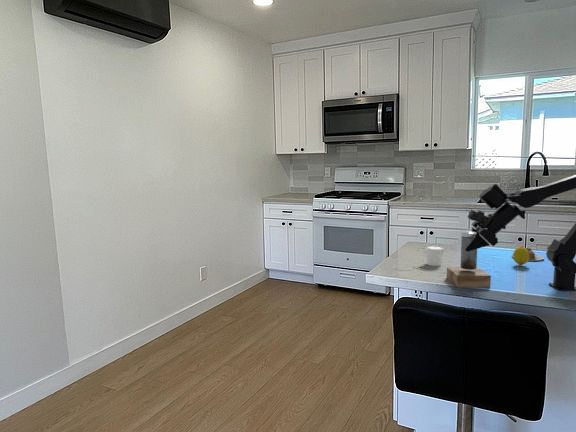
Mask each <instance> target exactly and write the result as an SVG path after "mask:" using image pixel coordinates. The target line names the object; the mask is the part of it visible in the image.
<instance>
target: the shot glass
mask: <svg viewBox="0 0 576 432" xmlns="http://www.w3.org/2000/svg"><path fill="white" fill-rule="evenodd" d="M425 249H426V264H427V265H428V266H433V267H440V266H442V262H443V255H444V247H442V246H436V245H435V246H434V245H429V246H428V245H427V246H426V248H425Z"/></svg>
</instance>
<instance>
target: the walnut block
mask: <svg viewBox="0 0 576 432" xmlns="http://www.w3.org/2000/svg"><path fill="white" fill-rule="evenodd" d="M446 279H447V280H448V281H450V283H452V284H453V285H454V286H455V287H457V288H491V282H492V281H491V279H492V276H491V274H489V273H488V272H486V271H485V270H484V269H481V267H480V268H479V266H477V268H476V269H474V270H468V269H462V268H461V266H455V267H454V266H452V267H446Z"/></svg>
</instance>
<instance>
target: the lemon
mask: <svg viewBox="0 0 576 432" xmlns="http://www.w3.org/2000/svg"><path fill="white" fill-rule="evenodd" d="M526 248H527V247H524V246H522V245H521V246H519V247H516V248H515V250H514V251H513V254H512V255H513V256H512V257H513V260H514V263H516V264H518V265H519V266H520V267H522V266H523V265H526V263H528V262H529V261H528V260H529V252H528V250H527V249H526Z"/></svg>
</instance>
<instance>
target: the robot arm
mask: <svg viewBox="0 0 576 432" xmlns="http://www.w3.org/2000/svg"><path fill="white" fill-rule="evenodd" d="M575 189H576V174H574V175H571V176H568V177H565V178H562V179H559V180H556V181H553V182H550V183H547V184H544V185H542V186H533V187H527V188H525V187H524V188H520V189H518V190H515V192H513V193H505V192H504V191H503V190H502V189H501V187H500V186H499V185H498V184H497V183H493V184H492V185H491V186H489V187H488V188H486V189H484V190H483V191H482V192H480V195H479V196H478V198H479V199H480V200H481V201H483V203H484V204H486V206H487V207H489V208H490V209H491V210H492V209H494V210H495V209H496V210H495V211H494V212H493V213H488V215H486V214H485V212H484V211H481V210H480V209H479V210H475V209H472V208H471V209H470V211H469V213H468V215H467V218H468V219H469V220H471V221H473V222H472V223H471V232H475V238H474V239H473V240H472V242H471V243H470V244H469V245H468V246H467V247H466V249H465V250H466V251H467V252H468V251H472V250H475V249H477V250H478V249H481V248H485V247H490V246H492V247H494V246H495V245H497V244H499V243H498V242H499V239H498V237H497V234H498V233H499V232H501V231H502V230H506V229H507V226H508V224H509V223H512V222H513V220H515V218H518V217H520V218H521V219H523V220H525V219H526V210H525V209H527V208H528V209H529V208H531V207H534V206H536V205H538V204H540V203H542V202H543V201H544V200H546V199H549V198H550V197H553V196H556V195H559V194H562V193H565V192H568V191H572V190H575ZM510 202H511V203H514V204H510ZM518 206H520V207H522V208H525V209H520V208H519V207H518ZM546 249H547V251H546V253H545V254H546V258H547V259H548V261H549V262H550V263H551V264H552V266H553V267H554V268H553V269H554V270H553V281H552V282H549V283H548V285H549V286H551V287H553V288H555V289H556V290H559V291H576V285H575V284H576V262H575V261H574V259H575V258H576V222H575V223H574V225H573V226H572V227H571V229H570V230H569V231H568V232H567V233H566V234H565V236H564V237H563V238H562V239H560V240H558V239H556V238H554V239H553V240H552V241H551V244H550V245H549V246H547V247H546Z"/></svg>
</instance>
